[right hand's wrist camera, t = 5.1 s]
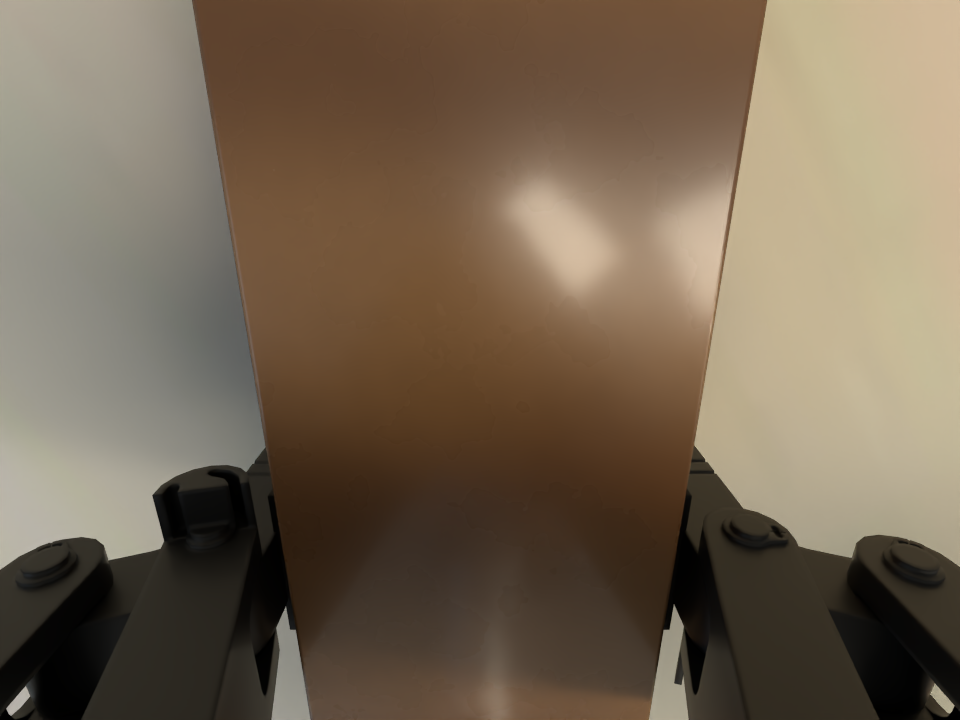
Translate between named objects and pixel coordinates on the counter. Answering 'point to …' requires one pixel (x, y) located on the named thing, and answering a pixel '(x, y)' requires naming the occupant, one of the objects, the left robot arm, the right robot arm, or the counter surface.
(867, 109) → the counter surface
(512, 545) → the post
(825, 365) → the counter surface
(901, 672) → the right robot arm
